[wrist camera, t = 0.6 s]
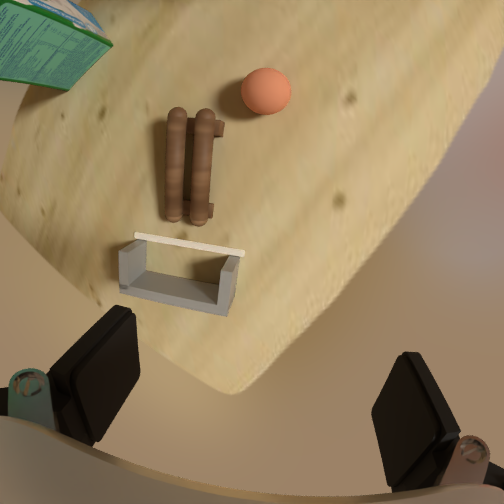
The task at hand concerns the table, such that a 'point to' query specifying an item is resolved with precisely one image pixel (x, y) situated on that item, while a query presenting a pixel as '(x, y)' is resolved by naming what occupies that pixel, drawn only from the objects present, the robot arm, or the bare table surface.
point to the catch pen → (175, 283)
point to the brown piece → (201, 164)
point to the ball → (266, 91)
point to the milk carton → (48, 42)
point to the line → (190, 244)
